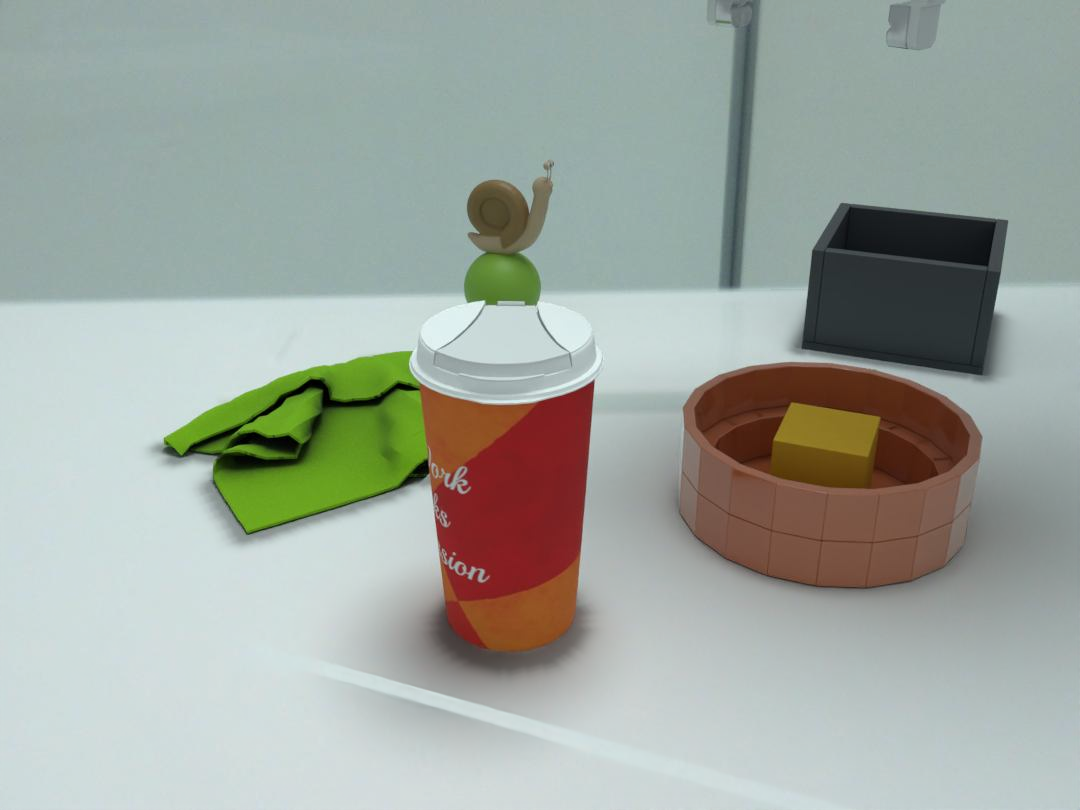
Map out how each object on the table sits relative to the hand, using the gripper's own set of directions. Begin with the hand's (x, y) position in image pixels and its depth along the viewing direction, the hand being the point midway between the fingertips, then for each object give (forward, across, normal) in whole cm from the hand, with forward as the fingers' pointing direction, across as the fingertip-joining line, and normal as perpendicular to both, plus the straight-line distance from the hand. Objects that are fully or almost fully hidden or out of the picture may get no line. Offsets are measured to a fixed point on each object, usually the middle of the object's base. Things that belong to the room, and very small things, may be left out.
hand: (814, 36), depth 53 cm
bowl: (+23, -4, +2) cm, 23 cm away
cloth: (+23, +21, +13) cm, 34 cm away
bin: (+23, +4, -24) cm, 33 cm away
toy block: (+22, -4, +2) cm, 23 cm away
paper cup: (+23, +1, +19) cm, 30 cm away
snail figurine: (+23, +26, -6) cm, 35 cm away
